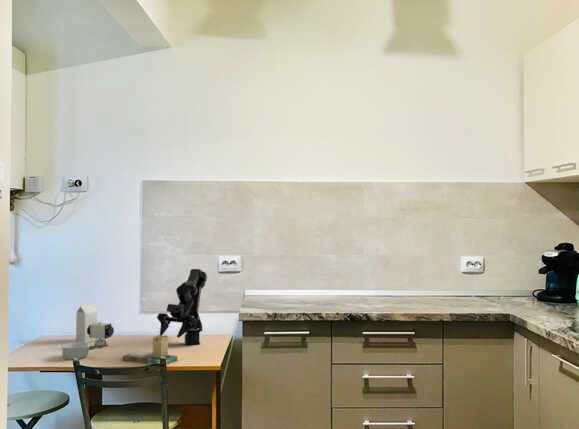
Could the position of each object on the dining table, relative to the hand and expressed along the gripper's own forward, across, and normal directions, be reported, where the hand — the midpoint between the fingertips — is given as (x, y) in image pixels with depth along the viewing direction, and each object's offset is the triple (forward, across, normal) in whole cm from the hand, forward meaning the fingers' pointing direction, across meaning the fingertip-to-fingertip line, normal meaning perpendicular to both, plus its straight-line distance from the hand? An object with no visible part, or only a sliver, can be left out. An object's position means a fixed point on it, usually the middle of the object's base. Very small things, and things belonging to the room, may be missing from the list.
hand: (169, 336), depth 215 cm
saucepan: (+16, -36, -2) cm, 39 cm away
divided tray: (+11, -5, +2) cm, 13 cm away
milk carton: (0, -58, +15) cm, 60 cm away
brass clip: (+11, 0, +2) cm, 12 cm away
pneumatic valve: (+4, -43, +10) cm, 45 cm away
